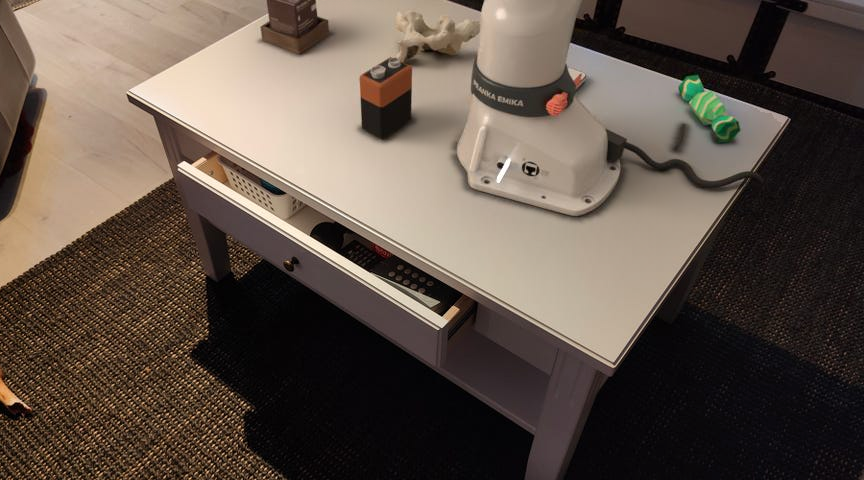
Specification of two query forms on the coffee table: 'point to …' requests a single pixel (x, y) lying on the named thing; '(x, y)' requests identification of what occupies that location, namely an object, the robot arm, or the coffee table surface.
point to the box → (292, 16)
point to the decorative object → (432, 34)
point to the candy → (709, 108)
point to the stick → (680, 136)
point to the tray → (295, 43)
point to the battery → (386, 97)
